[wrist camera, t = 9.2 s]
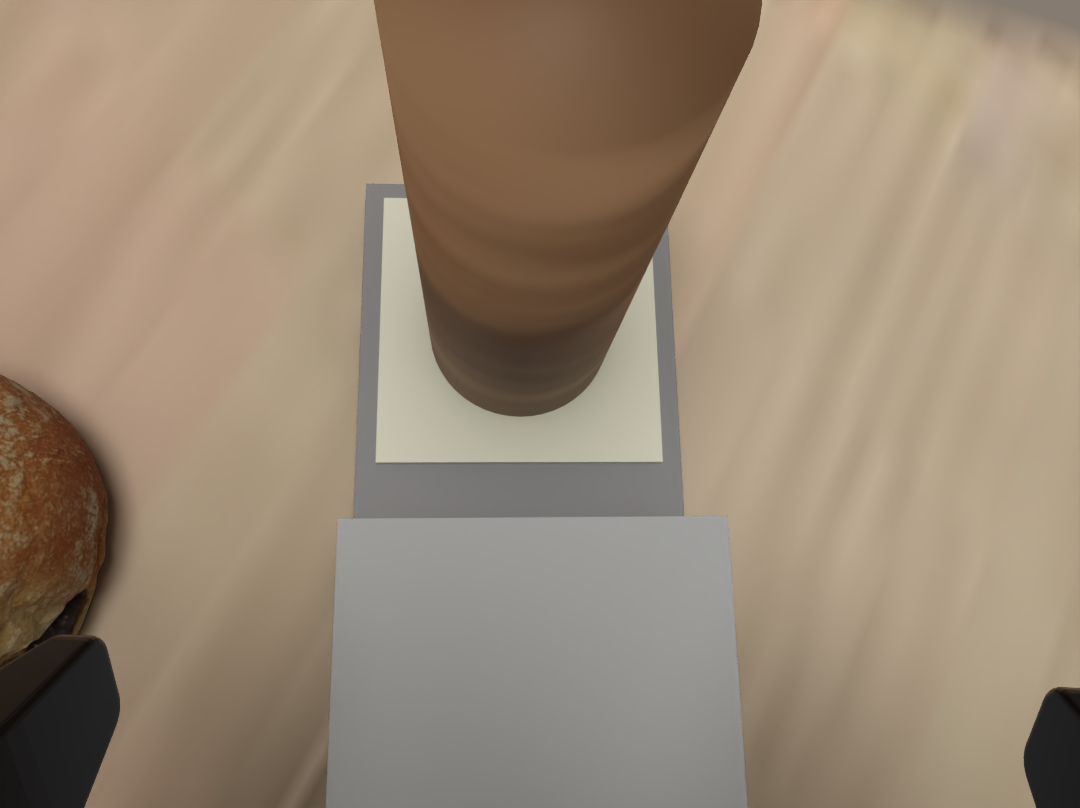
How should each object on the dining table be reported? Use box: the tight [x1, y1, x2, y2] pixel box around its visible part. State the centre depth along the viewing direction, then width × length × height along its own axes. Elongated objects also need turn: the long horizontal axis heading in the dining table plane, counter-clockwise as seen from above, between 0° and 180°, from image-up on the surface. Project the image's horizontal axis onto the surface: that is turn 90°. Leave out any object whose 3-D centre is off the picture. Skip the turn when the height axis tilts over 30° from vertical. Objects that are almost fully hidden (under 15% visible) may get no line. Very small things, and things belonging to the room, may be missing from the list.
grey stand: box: [326, 184, 748, 808], centre depth 19 cm, size 20×8×6 cm, turn 1°
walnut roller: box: [374, 0, 762, 417], centre depth 16 cm, size 4×4×12 cm
